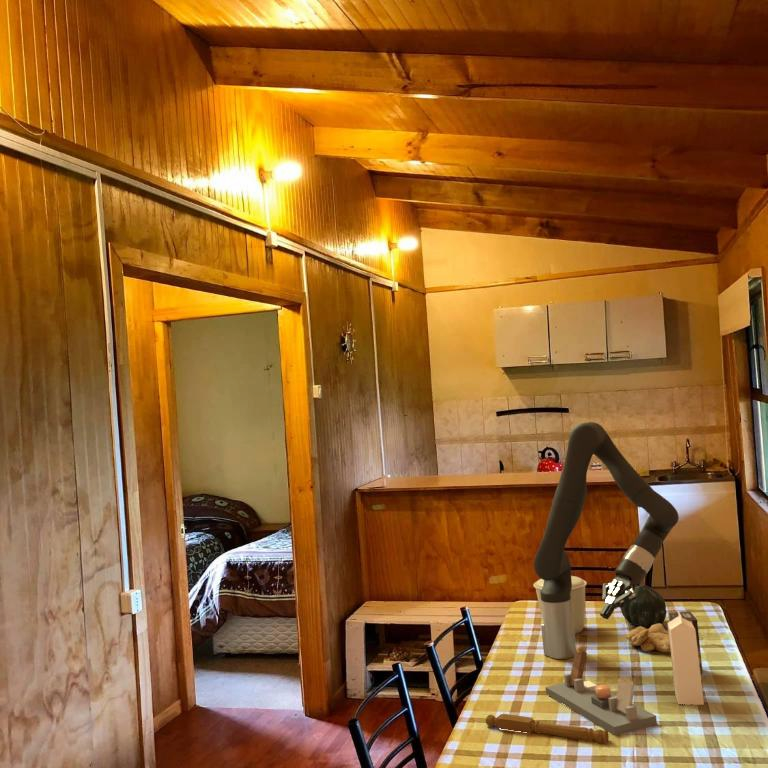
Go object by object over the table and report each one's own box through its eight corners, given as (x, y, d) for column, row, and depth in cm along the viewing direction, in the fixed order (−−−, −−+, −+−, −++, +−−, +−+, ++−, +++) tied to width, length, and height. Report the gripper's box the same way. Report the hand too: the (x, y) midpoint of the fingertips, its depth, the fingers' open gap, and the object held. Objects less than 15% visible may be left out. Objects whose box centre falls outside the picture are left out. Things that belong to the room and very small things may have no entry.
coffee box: (704, 679, 199) (697, 619, 200) (679, 680, 201) (673, 620, 201) (697, 667, 208) (690, 610, 209) (673, 668, 210) (667, 611, 210)
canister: (550, 621, 266) (544, 563, 267) (599, 626, 255) (592, 565, 256) (529, 636, 251) (523, 574, 252) (580, 641, 240) (573, 577, 241)
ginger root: (626, 634, 239) (629, 611, 239) (677, 648, 232) (681, 624, 232) (618, 651, 225) (622, 626, 225) (673, 667, 218) (677, 641, 218)
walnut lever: (575, 684, 199) (583, 644, 200) (582, 687, 196) (589, 647, 197) (567, 682, 198) (575, 642, 199) (573, 686, 195) (581, 645, 197)
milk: (678, 705, 185) (668, 617, 186) (675, 695, 191) (665, 610, 192) (704, 705, 183) (693, 616, 184) (700, 695, 189) (690, 609, 190)
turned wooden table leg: (604, 733, 167) (483, 716, 182) (606, 746, 167) (484, 728, 182) (608, 727, 170) (488, 711, 185) (609, 741, 170) (489, 723, 185)
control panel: (583, 685, 203) (581, 666, 204) (656, 724, 175) (654, 702, 175) (546, 694, 199) (544, 675, 199) (615, 735, 171) (612, 714, 171)
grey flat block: (618, 707, 180) (621, 678, 181) (631, 714, 175) (634, 684, 176) (615, 707, 180) (618, 678, 181) (628, 714, 175) (631, 684, 176)
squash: (638, 599, 264) (621, 574, 258) (678, 606, 253) (662, 580, 246) (625, 633, 257) (607, 608, 250) (666, 642, 246) (649, 616, 239)
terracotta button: (605, 691, 187) (604, 683, 187) (613, 696, 183) (612, 688, 184) (593, 694, 186) (592, 686, 186) (601, 699, 182) (600, 691, 182)
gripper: (611, 554, 211) (580, 604, 207) (641, 560, 199) (609, 614, 194) (628, 569, 213) (598, 619, 208) (659, 577, 201) (627, 630, 196)
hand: (603, 617), depth 201 cm, fingers closed
